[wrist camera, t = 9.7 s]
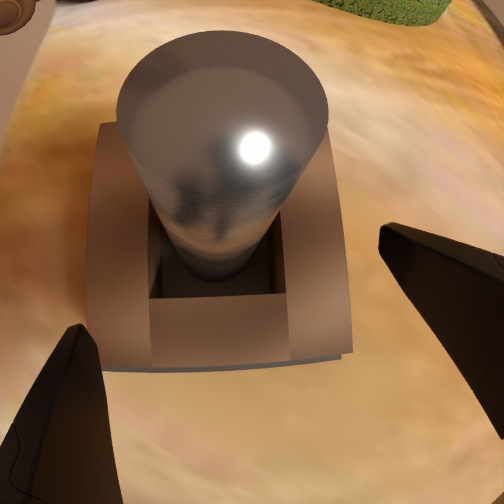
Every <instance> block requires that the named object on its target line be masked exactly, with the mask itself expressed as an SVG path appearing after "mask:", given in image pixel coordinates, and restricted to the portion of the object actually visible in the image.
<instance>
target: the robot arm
mask: <svg viewBox="0 0 504 504" xmlns="http://www.w3.org/2000/svg"><path fill="white" fill-rule="evenodd" d="M378 250H379V253H380V255H381V257H382V259H383V260H384V262H385V263H386V265H387V266H388V268H389V270H390V271H391V273H392V274H393V276H394V278H395V279H396V281H397V282H398V284H399V286H400V287H401V289H402V290H403V292H404V293H405V294H406V296H407V297H408V299H409V300H410V301H411V303H412V304H413V305H414V307H415V308H416V309H417V311H418V312H419V313H420V315H421V316H422V317H423V319H424V320H425V321H426V323H427V324H428V326H429V327H430V328H431V330H432V331H433V333H434V334H435V335H436V337H437V338H438V340H439V341H440V343H441V344H442V345H443V347H444V348H445V350H446V351H447V353H448V354H449V356H450V357H451V359H452V360H453V362H454V363H455V365H456V366H457V368H458V369H459V371H460V372H461V374H462V375H463V377H464V378H465V380H466V382H467V383H468V385H469V386H470V388H471V389H472V391H473V393H474V395H475V396H476V398H477V399H478V401H479V403H480V404H481V406H482V408H483V409H484V411H485V413H486V414H487V416H488V418H489V420H490V421H491V423H492V425H493V426H494V428H495V430H496V432H497V434H498V435H499V437H500V438H501V440H503V439H504V256H501V255H498V254H495V253H491V252H489V251H486V250H483V249H480V248H477V247H474V246H471V245H468V244H465V243H462V242H458V241H455V240H452V239H449V238H446V237H442V236H439V235H436V234H433V233H429V232H426V231H422V230H419V229H416V228H412V227H409V226H405V225H402V224H398V223H394V222H391V223H388V224H385V225H382V226H381V228H380V234H379V245H378ZM13 422H14V423H12V424H11V426H10V428H9V430H8V432H7V434H6V436H5V438H4V440H3V442H2V444H1V446H0V504H123V499H122V495H121V490H120V485H119V480H118V475H117V470H116V464H115V458H114V452H113V446H112V439H111V431H110V423H109V415H108V405H107V397H106V391H105V386H104V380H103V375H102V369H101V364H100V357H99V351H98V347H97V344H96V342H95V341H94V339H93V338H92V337H91V335H90V334H89V332H88V331H87V329H86V328H85V327H84V325H82V324H76V325H73V326H70V327H68V328H67V330H66V331H65V333H64V334H63V336H62V338H61V339H60V341H59V342H58V344H57V345H56V347H55V349H54V350H53V352H52V353H51V355H50V357H49V358H48V360H47V362H46V363H45V365H44V367H43V368H42V370H41V372H40V373H39V375H38V377H37V379H36V380H35V382H34V384H33V385H32V387H31V389H30V391H29V393H28V394H27V396H26V398H25V400H24V402H23V403H22V405H21V407H20V409H19V411H18V413H17V415H16V417H15V418H14V421H13ZM492 504H504V492H503V493H502V494H501V495H500V496H499V497H498V498H497V499H496V500H495V501H494V502H493V503H492Z"/></svg>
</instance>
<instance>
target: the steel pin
mask: <svg viewBox="0 0 504 504" xmlns="http://www.w3.org/2000/svg"><path fill="white" fill-rule="evenodd" d="M116 113H117V124H118V128H119V132H120V134H121V137H122V139H123V141H124V144H125V146H126V148H127V150H128V153H129V155H130V157H131V159H132V161H133V164H134V166H135V168H136V170H137V172H138V174H139V177H140V179H141V181H142V183H143V185H144V187H145V189H146V191H147V194H148V196H149V198H150V200H151V202H152V204H153V206H154V208H155V210H156V212H157V214H158V216H159V218H160V220H161V222H162V224H163V226H164V228H165V230H166V232H167V234H168V236H169V238H170V240H171V242H172V244H173V246H174V248H175V250H176V252H177V254H178V256H179V258H180V260H181V261H182V263H183V265H184V267H185V268H186V270H187V271H188V272H189V273H190V274H191V275H193V276H194V277H196V278H197V279H199V280H202V281H205V282H210V283H219V282H224V281H227V280H229V279H231V278H233V277H235V276H236V275H237V274H238V273H239V272H241V270H242V269H243V268H244V266H245V265H246V263H247V262H248V260H249V258H250V257H251V255H252V254H253V252H254V250H255V249H256V247H257V245H258V244H259V242H260V241H261V239H262V237H263V236H264V234H265V233H266V231H267V229H268V228H269V226H270V225H271V223H272V221H273V220H274V218H275V217H276V215H277V213H278V212H279V210H280V209H281V207H282V205H283V204H284V202H285V201H286V199H287V197H288V196H289V194H290V193H291V191H292V189H293V188H294V186H295V185H296V183H297V181H298V180H299V178H300V177H301V175H302V173H303V172H304V170H305V168H306V167H307V165H308V164H309V162H310V160H311V159H312V157H313V156H314V154H315V152H316V151H317V149H318V147H319V146H320V144H321V142H322V141H323V138H324V135H325V133H326V130H327V124H328V103H327V98H326V95H325V92H324V89H323V87H322V85H321V83H320V81H319V79H318V78H317V76H316V75H315V73H314V72H313V71H312V69H311V68H310V67H309V66H308V65H307V64H306V63H305V62H304V61H303V60H302V59H301V58H300V57H299V56H297V55H296V54H295V53H293V52H292V51H290V50H289V49H287V48H285V47H284V46H282V45H280V44H278V43H276V42H274V41H272V40H269V39H267V38H264V37H261V36H258V35H254V34H249V33H244V32H237V31H223V30H221V31H206V32H198V33H194V34H189V35H186V36H183V37H180V38H176V39H174V40H172V41H169V42H167V43H165V44H163V45H161V46H160V47H158V48H156V49H155V50H153V51H152V52H150V53H149V54H148V55H146V56H145V57H144V58H143V59H142V60H141V61H140V62H139V63H138V64H137V65H136V66H135V67H134V68H133V69H132V71H131V72H130V73H129V75H128V76H127V78H126V80H125V81H124V84H123V86H122V88H121V90H120V93H119V97H118V101H117V110H116Z"/></svg>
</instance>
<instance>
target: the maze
mask: <svg viewBox="0 0 504 504" xmlns="http://www.w3.org/2000/svg"><path fill="white" fill-rule="evenodd" d="M313 1H315V2H318V3H321V4H323V5H326V6H329V7H332V8H336V9H339V10H342V11H346V12H349V13H352V14H355V15H358V16H361V17H366V18H370V19H374V20H378V21H382V22H386V23H390V24H398V25H405V26H428V25H430V24H432V23H434V22H436V21H437V20H438V19H439V17H440V16H441V15H442V13H443V12H444V11H445V9H446V8H447V7H448V5H449V4H450V3H451V1H452V0H313Z"/></svg>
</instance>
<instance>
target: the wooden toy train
mask: <svg viewBox="0 0 504 504" xmlns="http://www.w3.org/2000/svg"><path fill="white" fill-rule="evenodd" d="M38 1H40V0H0V35H8V34H11V33H14V32H15V31H17V30H19V29H20V28H22V27H23V26H25V24H27V22H28V21H29V20H30V19H31V17H32V15H33V14H34V11H35V5H36V3H35V2H38Z"/></svg>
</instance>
